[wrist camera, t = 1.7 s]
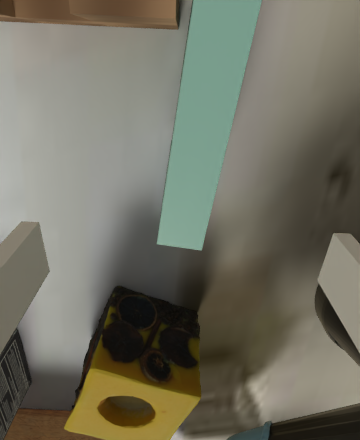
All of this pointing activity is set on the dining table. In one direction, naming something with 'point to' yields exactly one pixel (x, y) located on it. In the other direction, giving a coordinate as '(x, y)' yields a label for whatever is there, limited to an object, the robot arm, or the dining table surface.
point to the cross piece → (204, 115)
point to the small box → (12, 381)
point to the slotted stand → (94, 12)
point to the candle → (138, 370)
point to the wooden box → (42, 426)
